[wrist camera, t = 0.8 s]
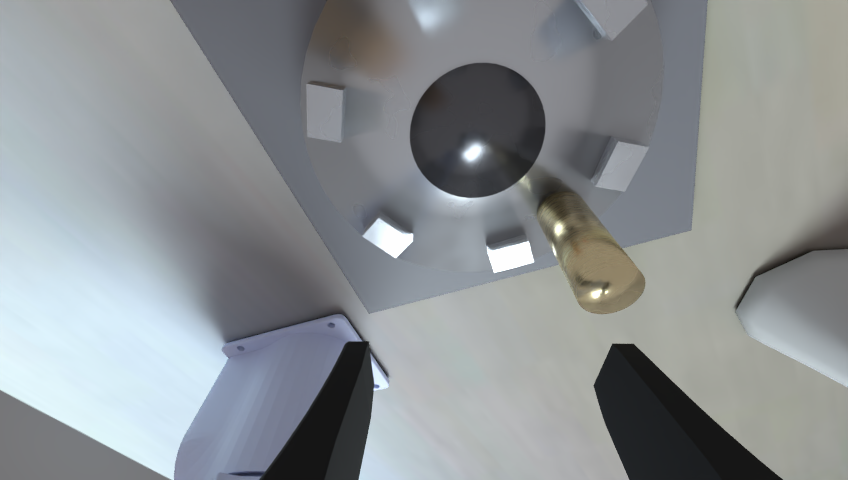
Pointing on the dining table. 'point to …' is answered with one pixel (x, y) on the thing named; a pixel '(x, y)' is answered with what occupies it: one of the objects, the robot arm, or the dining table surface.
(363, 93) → the crank wheel with handle
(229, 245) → the dining table surface
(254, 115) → the cap plate
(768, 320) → the flask
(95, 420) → the dining table surface
